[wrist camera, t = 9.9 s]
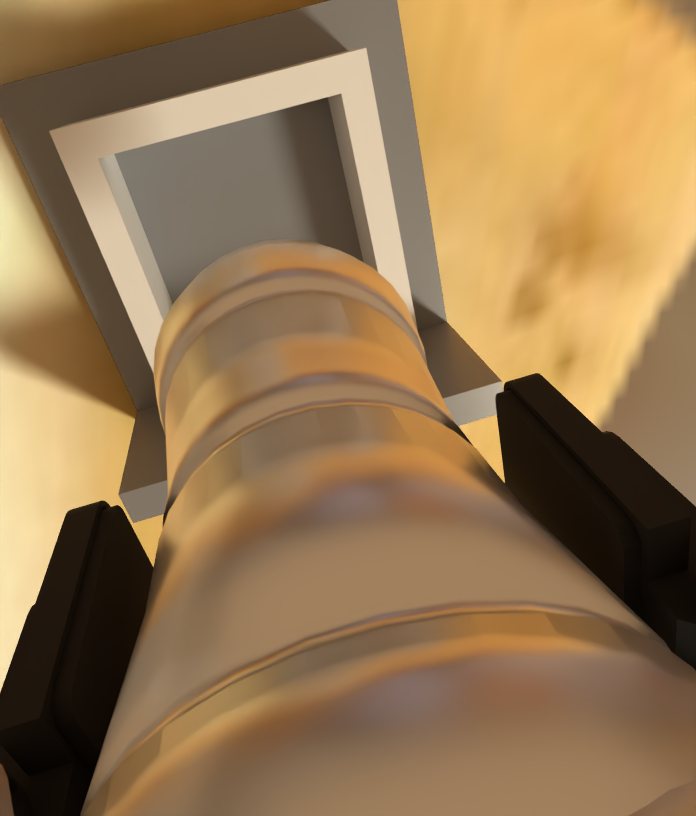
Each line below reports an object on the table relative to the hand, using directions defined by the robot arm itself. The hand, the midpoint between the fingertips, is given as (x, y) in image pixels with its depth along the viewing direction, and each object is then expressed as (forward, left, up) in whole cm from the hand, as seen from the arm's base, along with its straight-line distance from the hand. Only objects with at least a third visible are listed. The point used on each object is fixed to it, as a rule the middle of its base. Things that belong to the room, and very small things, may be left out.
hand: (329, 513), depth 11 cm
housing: (0, 0, -21) cm, 21 cm away
